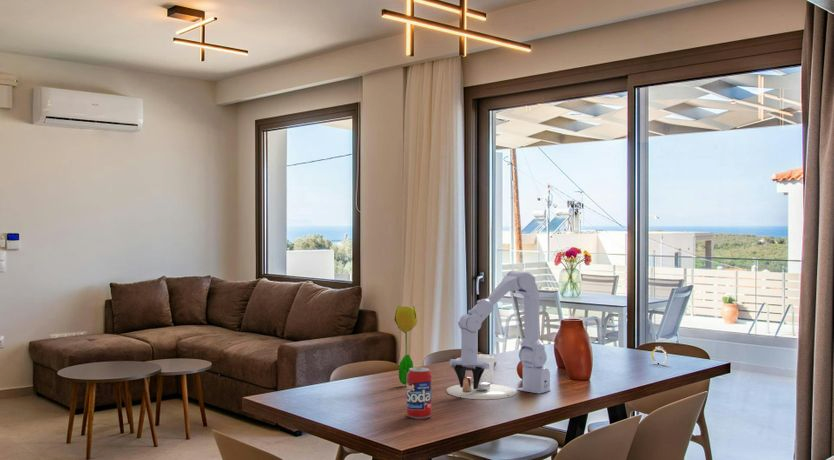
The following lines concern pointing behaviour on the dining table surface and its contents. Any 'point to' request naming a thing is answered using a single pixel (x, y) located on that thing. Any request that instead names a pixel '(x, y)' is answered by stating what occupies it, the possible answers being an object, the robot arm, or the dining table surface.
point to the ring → (659, 349)
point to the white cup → (487, 373)
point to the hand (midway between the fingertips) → (469, 387)
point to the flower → (405, 323)
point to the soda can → (419, 393)
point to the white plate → (483, 392)
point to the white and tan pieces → (467, 385)
